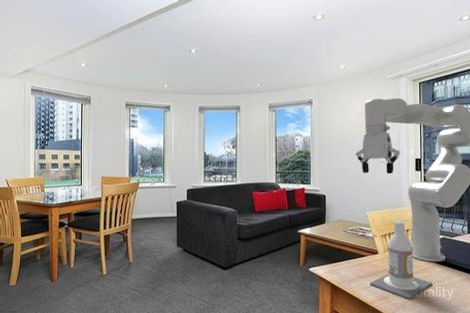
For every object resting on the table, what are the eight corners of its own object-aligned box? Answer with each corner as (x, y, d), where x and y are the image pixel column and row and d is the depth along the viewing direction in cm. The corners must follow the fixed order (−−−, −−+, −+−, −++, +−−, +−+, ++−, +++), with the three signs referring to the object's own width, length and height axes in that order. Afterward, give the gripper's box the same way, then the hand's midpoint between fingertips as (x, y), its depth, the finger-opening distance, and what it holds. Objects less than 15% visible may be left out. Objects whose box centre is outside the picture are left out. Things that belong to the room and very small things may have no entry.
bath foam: (407, 289, 87) (405, 225, 88) (385, 281, 93) (383, 222, 93) (417, 283, 91) (415, 222, 91) (395, 276, 97) (393, 219, 97)
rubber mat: (394, 272, 101) (394, 270, 101) (431, 284, 91) (431, 282, 92) (370, 284, 92) (370, 282, 92) (408, 299, 83) (408, 297, 83)
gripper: (403, 128, 106) (404, 173, 106) (360, 132, 120) (362, 172, 120) (393, 127, 102) (395, 174, 102) (350, 132, 116) (352, 173, 116)
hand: (377, 173), depth 111 cm, fingers open, 9 cm apart
